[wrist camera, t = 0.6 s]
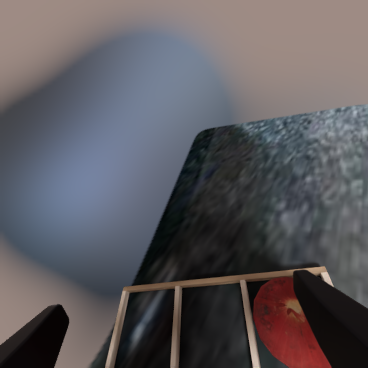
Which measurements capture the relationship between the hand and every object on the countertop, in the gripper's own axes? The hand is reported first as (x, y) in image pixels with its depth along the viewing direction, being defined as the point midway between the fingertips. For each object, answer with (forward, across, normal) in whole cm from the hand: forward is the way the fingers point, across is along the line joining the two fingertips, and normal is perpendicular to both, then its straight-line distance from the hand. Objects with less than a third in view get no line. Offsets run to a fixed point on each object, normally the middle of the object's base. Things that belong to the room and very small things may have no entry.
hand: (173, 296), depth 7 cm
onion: (+6, -8, +13) cm, 16 cm away
